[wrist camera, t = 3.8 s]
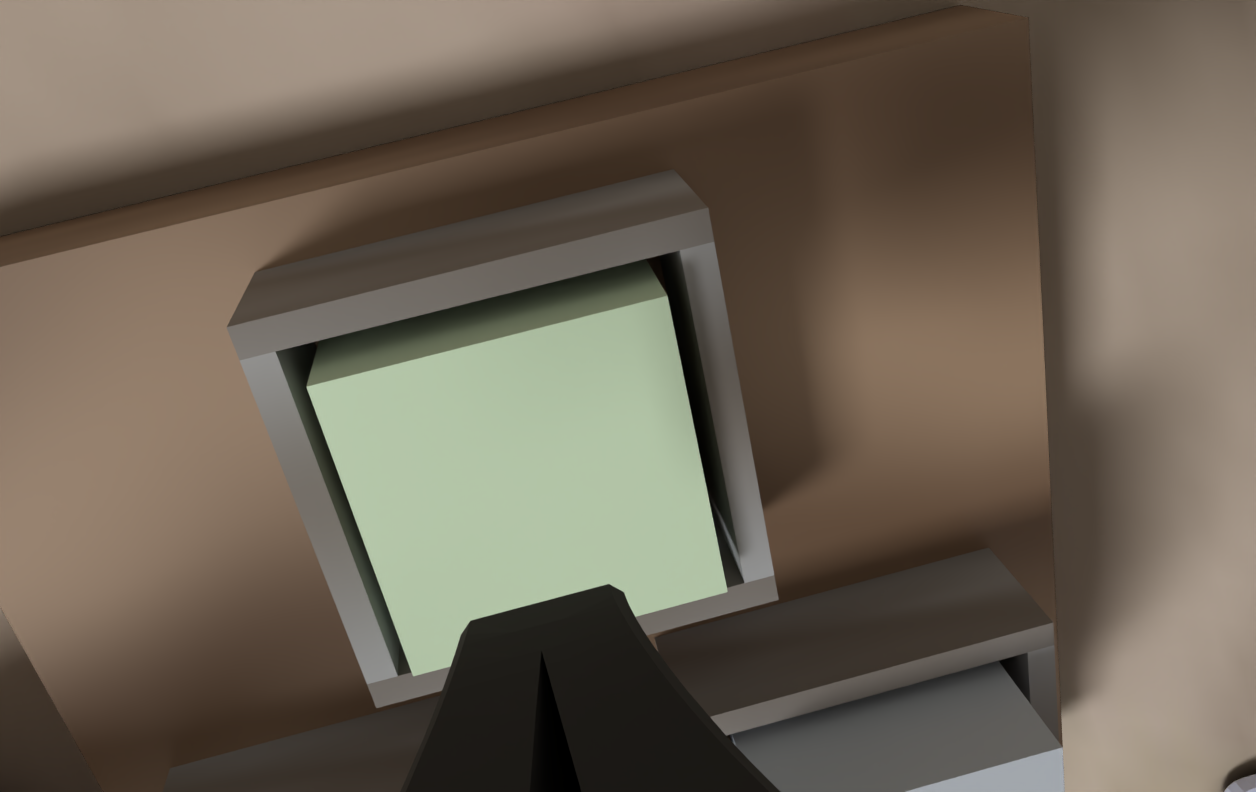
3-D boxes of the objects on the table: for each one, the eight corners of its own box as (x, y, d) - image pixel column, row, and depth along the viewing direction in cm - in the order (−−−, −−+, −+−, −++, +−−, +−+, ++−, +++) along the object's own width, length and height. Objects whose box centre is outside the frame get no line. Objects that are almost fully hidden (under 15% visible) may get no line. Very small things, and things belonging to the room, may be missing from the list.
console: (1013, 739, 22) (1128, 906, 18) (263, 950, 21) (225, 1168, 17) (961, 5, 16) (1116, 33, 12) (-93, 259, 15) (-265, 370, 11)
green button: (691, 505, 16) (727, 592, 14) (417, 577, 15) (412, 676, 13) (635, 240, 14) (667, 295, 12) (326, 317, 14) (306, 387, 12)
